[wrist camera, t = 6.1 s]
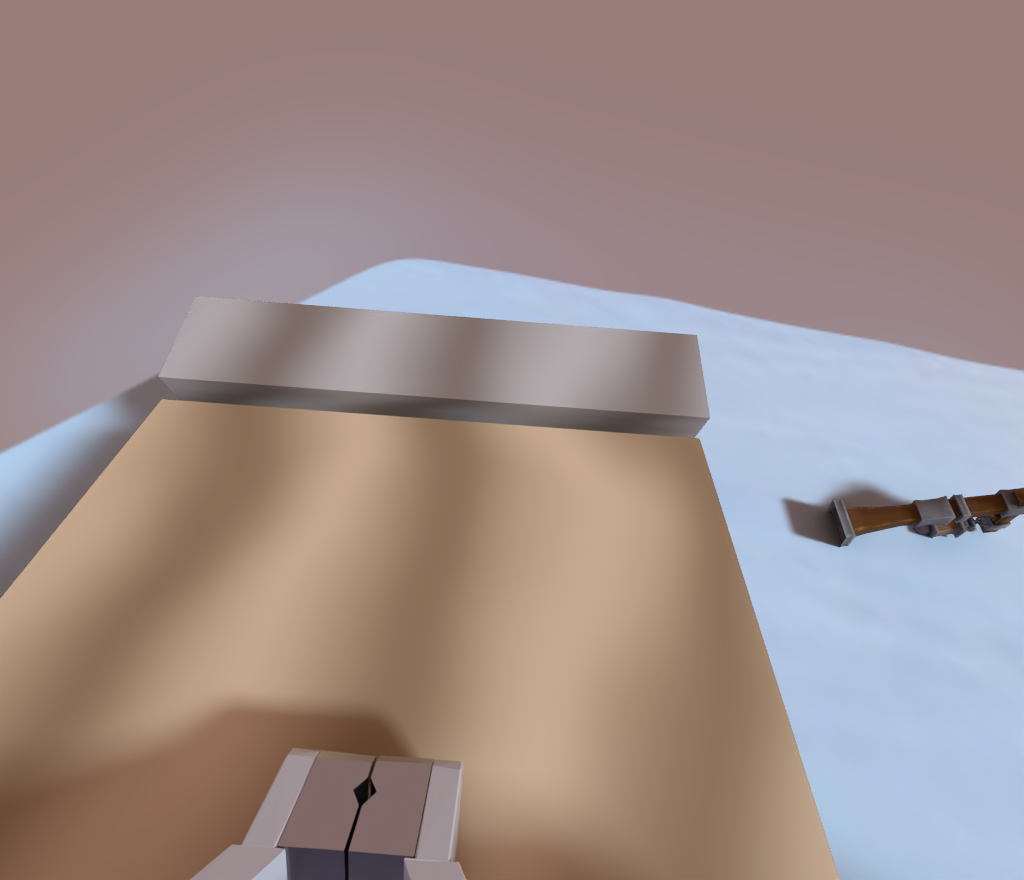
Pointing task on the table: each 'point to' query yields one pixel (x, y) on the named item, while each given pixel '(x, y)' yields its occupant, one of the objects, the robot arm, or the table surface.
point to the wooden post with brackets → (932, 515)
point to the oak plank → (398, 650)
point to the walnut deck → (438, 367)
